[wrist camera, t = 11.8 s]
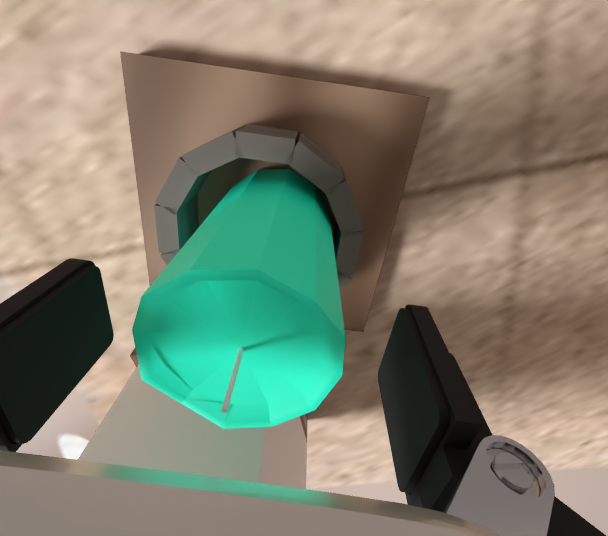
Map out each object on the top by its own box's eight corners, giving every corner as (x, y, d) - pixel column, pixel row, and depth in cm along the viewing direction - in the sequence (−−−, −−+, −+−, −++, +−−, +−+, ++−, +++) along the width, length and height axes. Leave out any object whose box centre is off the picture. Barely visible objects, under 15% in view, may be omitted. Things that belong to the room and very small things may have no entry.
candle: (271, 141, 16) (190, 243, 5) (352, 222, 18) (409, 413, 7) (201, 222, 18) (44, 408, 8) (280, 286, 20) (243, 505, 9)
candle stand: (420, 96, 16) (454, 99, 12) (360, 317, 23) (370, 365, 19) (136, 54, 16) (76, 43, 12) (162, 294, 22) (129, 337, 18)
